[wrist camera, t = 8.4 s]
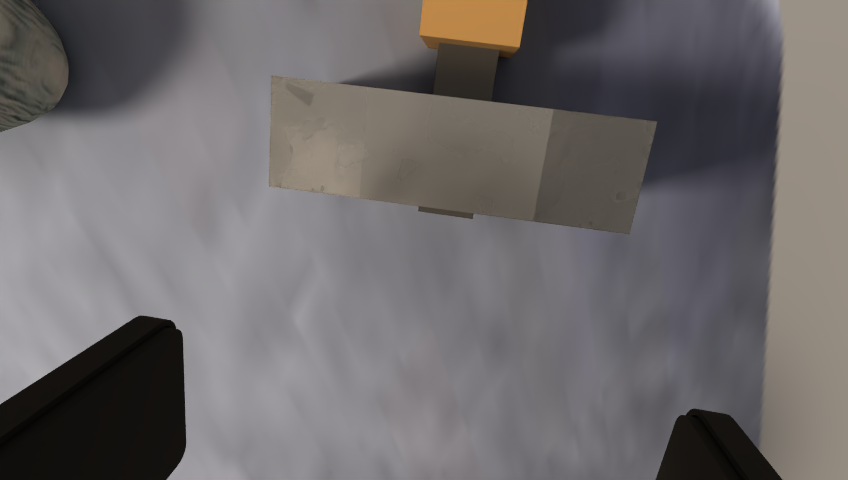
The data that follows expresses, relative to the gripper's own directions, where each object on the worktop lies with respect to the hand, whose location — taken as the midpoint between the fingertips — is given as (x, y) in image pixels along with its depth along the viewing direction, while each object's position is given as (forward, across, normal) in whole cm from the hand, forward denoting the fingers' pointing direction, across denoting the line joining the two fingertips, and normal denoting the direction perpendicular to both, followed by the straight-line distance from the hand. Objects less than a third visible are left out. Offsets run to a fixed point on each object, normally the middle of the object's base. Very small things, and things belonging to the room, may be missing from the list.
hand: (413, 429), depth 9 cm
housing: (+17, 0, -4) cm, 17 cm away
